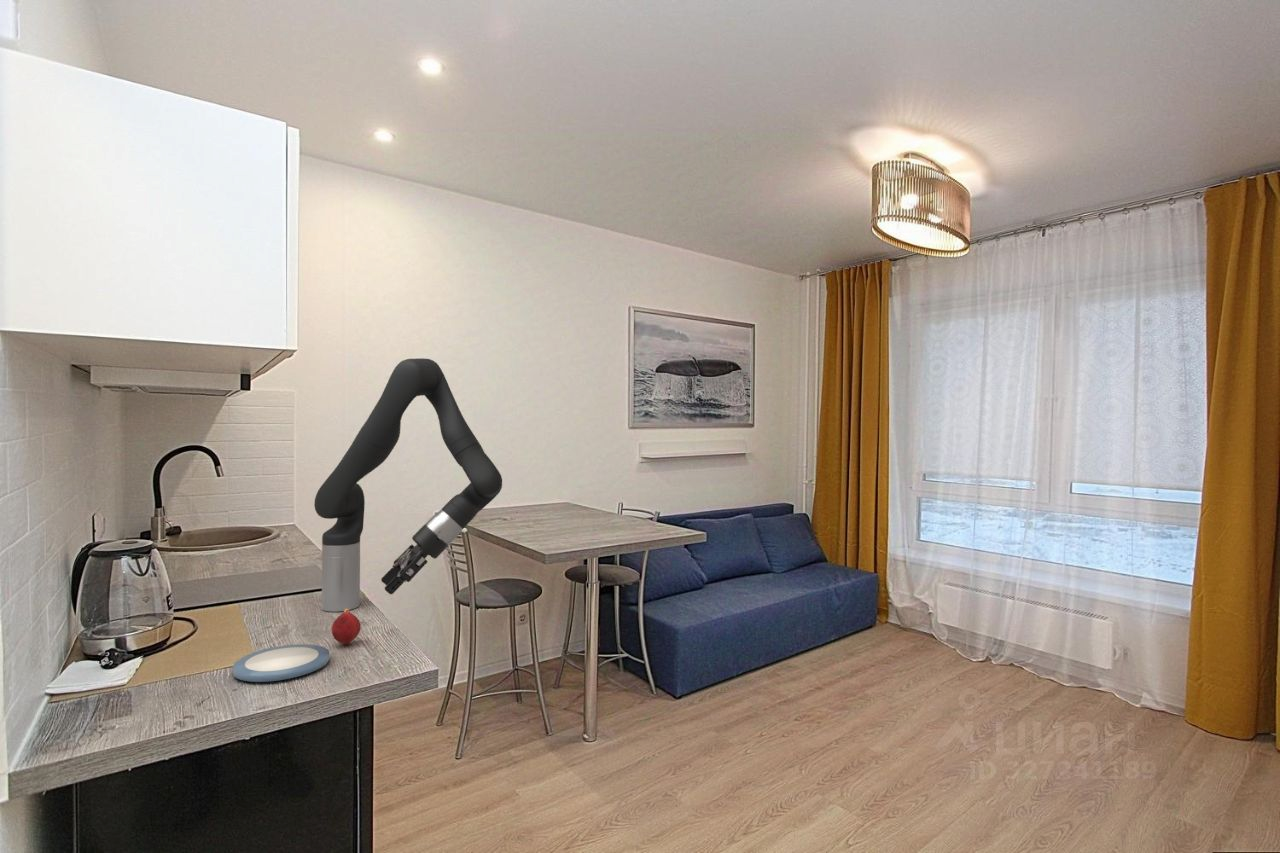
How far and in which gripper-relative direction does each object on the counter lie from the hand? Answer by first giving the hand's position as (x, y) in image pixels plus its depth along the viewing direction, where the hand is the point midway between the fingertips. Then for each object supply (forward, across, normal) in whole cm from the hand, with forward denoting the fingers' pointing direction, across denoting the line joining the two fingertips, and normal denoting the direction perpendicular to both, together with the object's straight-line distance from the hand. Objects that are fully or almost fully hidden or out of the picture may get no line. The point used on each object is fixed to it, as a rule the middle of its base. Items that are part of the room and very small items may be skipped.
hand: (385, 587), depth 147 cm
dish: (+23, +9, -6) cm, 25 cm away
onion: (+14, 0, +3) cm, 15 cm away
